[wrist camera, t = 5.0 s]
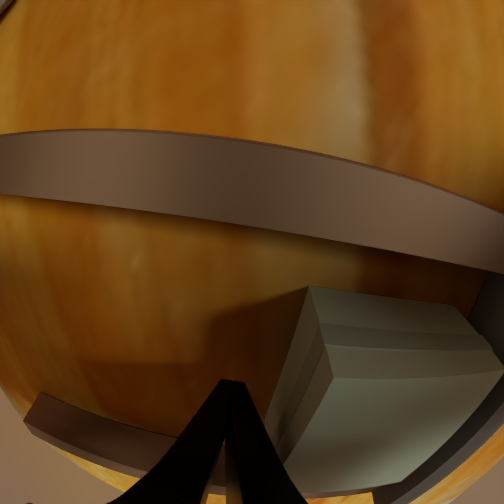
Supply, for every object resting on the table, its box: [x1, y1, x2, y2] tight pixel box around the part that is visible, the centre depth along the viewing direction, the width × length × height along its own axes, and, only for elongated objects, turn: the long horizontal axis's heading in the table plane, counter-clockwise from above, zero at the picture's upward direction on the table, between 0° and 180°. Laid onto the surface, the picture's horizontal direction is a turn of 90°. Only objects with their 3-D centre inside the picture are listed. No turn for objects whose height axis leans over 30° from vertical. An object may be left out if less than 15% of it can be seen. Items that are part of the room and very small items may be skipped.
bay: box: [0, 129, 504, 504], centre depth 8 cm, size 22×16×4 cm
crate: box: [264, 286, 504, 493], centre depth 9 cm, size 6×7×4 cm
